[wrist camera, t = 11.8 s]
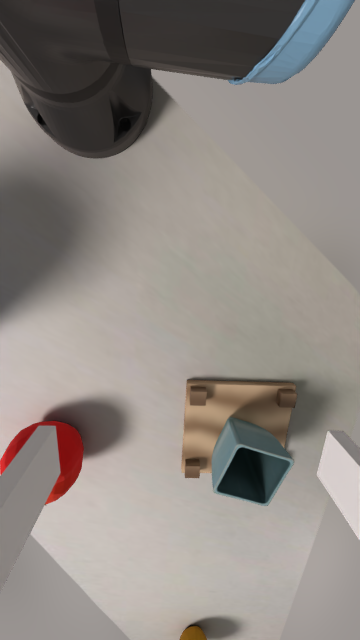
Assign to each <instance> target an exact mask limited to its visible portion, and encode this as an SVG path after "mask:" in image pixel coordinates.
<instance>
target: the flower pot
mask: <svg viewBox="0 0 360 640" xmlns="http://www.w3.org/2000/svg"><path fill="white" fill-rule="evenodd" d="M293 464H294V460H293V459H292V457H291V456H290V455H289V454H288V452H287V451H286V450H285V449H284V447H283V446H282V445H281V443H280V442H279V441H278V440H277V439H276V438H275V437H274V436H273V435H272V434H271V433H270V432H268V431H267V430H265V429H264V428H262V427H260V426H258V425H255V424H253V423H250V422H246V421H243V420H240V419H237V418H234V417H229V418H228V419H227V421H226V423H225V425H224V427H223V429H222V431H221V433H220V435H219V437H218V439H217V442H216V444H215V447H214V450H213V454H212V482H213V492H214V493H216V494H220V495H223V496H227V497H232V498H235V499H239V500H243V501H247V502H251V503H255V504H258V505H261V506H268V505H269V503H270V502H271V500H272V498H273V497H274V495H275V493H276V492H277V490H278V488H279V487H280V485H281V483H282V482H283V480H284V478H285V477H286V475H287V474H288V472H289V470H290V469H291V468H292V466H293Z"/></svg>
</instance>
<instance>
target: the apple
mask: <svg viewBox="0 0 360 640" xmlns="http://www.w3.org/2000/svg"><path fill="white" fill-rule="evenodd" d="M180 640H207V638H206V636H205V634H204V633H203V631H202V629H201V628H200V627H198V626H192V627H189V628H187V629H185V630H184V631H183V633H182V635H181V637H180Z"/></svg>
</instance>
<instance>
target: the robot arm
mask: <svg viewBox="0 0 360 640" xmlns="http://www.w3.org/2000/svg"><path fill="white" fill-rule="evenodd" d="M354 1H355V0H0V60H1V61H2V62H3V63H4V64H5V65H6V66H7V67H8V68H9V69H10V71H11V72H12V75H13V77H14V80H15V82H16V84H17V87H18V89H19V92H20V94H21V96H22V99H23V101H24V103H25V105H26V107H27V109H28V111H29V112H30V114H31V115H32V117H33V118H34V120H35V121H36V122H37V124H38V125H39V126H40V127H41V128H42V129H43V131H44V132H46V133H47V134H48V135H49V136H50V137H51V138H52V139H53V140H54V141H55V142H56V143H57V144H59V145H60V146H61V147H63V148H64V149H66V150H68V151H69V152H71V153H74V154H76V155H79V156H83V157H87V158H105V157H109V156H113V155H115V154H118V153H120V152H121V151H123V150H125V149H126V148H127V147H129V146H130V145H131V144H132V143H133V142H134V141H135V140H136V139H137V137H138V136H139V135H140V133H141V132H142V130H143V128H144V126H145V124H146V122H147V119H148V116H149V113H150V109H151V104H152V92H153V91H152V76H151V69H156V70H163V71H169V72H177V73H183V74H190V75H197V76H204V77H210V78H217V79H224V80H228V81H229V83H231V84H235V85H238V84H243V83H245V82H256V83H268V84H277V83H281V82H284V81H286V80H288V79H289V78H291V77H292V76H294V75H295V74H297V73H299V72H300V71H301V70H303V69H304V68H305V67H306V66H307V65H308V64H309V63H310V62H311V61H312V60H313V59H314V58H315V57H316V56H317V54H318V53H319V52H320V51H321V50H322V48H323V47H324V46H325V44H326V43H327V42H328V41H329V39H330V38H331V36H332V35H333V34H334V32H335V31H336V29H337V28H338V26H339V25H340V23H341V22H342V20H343V19H344V17H345V16H346V14H347V12H348V11H349V9H350V8H351V6H352V4H353V3H354ZM59 475H60V463H59V453H58V443H57V434H56V426H38V427H37V429H36V430H35V431H34V433H33V434H32V435H31V437H30V438H29V439H28V440H27V442H26V443H25V444H24V446H23V447H22V448H21V450H20V451H19V452H18V454H17V455H16V456H15V457H14V459H13V460H12V461H11V463H10V464H9V465H8V467H7V468H6V469H5V471H4V472H3V473H2V475H1V476H0V592H1V590H2V588H3V586H4V584H5V582H6V580H7V578H8V576H9V574H10V572H11V570H12V568H13V566H14V564H15V562H16V560H17V558H18V556H19V554H20V552H21V550H22V548H23V546H24V544H25V542H26V540H27V538H28V536H29V534H30V533H31V531H32V529H33V527H34V525H35V523H36V521H37V519H38V517H39V515H40V513H41V511H42V509H43V507H44V505H45V503H46V501H47V499H48V497H49V495H50V493H51V491H52V489H53V487H54V485H55V483H56V481H57V479H58V477H59ZM317 476H318V477H319V479H320V480H321V482H322V483H323V485H324V486H325V488H326V490H327V491H328V493H329V494H330V496H331V497H332V499H333V500H334V502H335V503H336V505H337V506H338V508H339V509H340V511H341V512H342V514H343V516H344V517H345V519H346V520H347V522H348V523H349V525H350V526H351V528H352V529H353V531H354V532H355V534H356V535H357V537H358V538H359V540H360V448H359V447H358V446H357V445H356V444H355V443H354V442H353V441H352V440H351V438H350V437H349V436H348V435H347V434H346V433H345V432H344V431H333V430H328V432H327V436H326V440H325V444H324V448H323V452H322V456H321V461H320V465H319V469H318V473H317Z"/></svg>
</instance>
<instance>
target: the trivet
mask: <svg viewBox="0 0 360 640" xmlns="http://www.w3.org/2000/svg"><path fill="white" fill-rule="evenodd" d="M295 390H296V386H295V385H294V384H293V383H283V382H246V381H210V380H187V387H186V402H185V418H184V434H183V450H182V466H181V469H182V473H185V478H199V476H200V473H212V454H213V450H214V447H215V444H216V442H217V439H218V437H219V435H220V433H221V431H222V429H223V427H224V425H225V423H226V421H227V419H228V418H229V417H234V418H237V419H240V420H243V421H246V422H250V423H253V424H255V425H258V426H260V427H262V428H264V429H265V430H267V431H268V432H270V433H271V434H272V435H273V436H274V437H275V438H276V439H277V440H278V441H279V442H280V443H281V445H282V446H283V447H284V446H285V441H286V436H287V431H288V426H289V421H290V416H291V411H292V408H295V403H296V398H297V393H296V392H295Z"/></svg>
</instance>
